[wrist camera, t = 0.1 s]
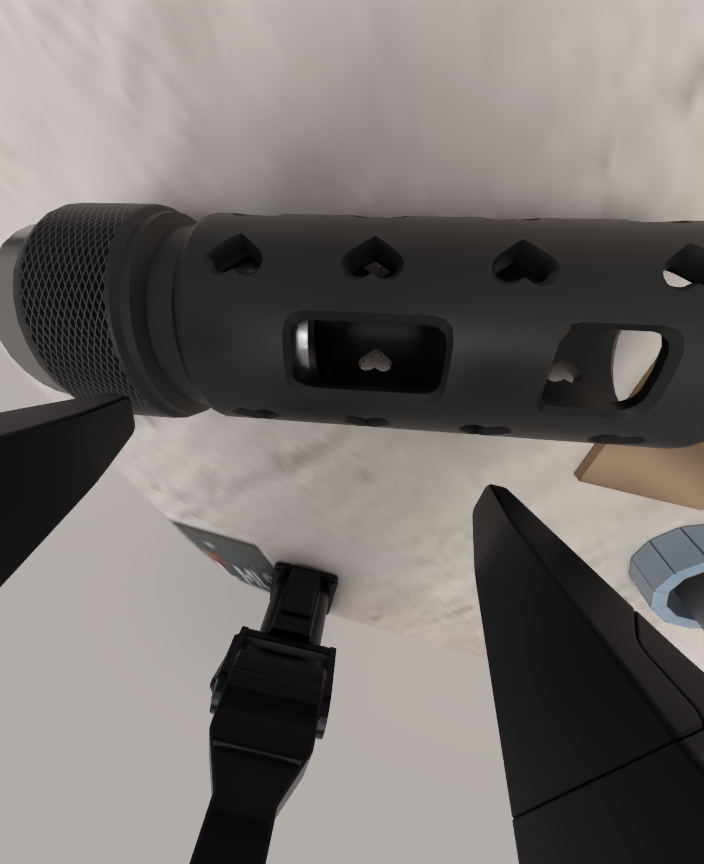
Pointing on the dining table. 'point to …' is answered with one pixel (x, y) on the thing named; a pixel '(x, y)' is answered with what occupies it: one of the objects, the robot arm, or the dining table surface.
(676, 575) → the collar
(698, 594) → the plug
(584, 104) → the dining table surface
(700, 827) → the robot arm
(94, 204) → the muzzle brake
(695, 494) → the mat
